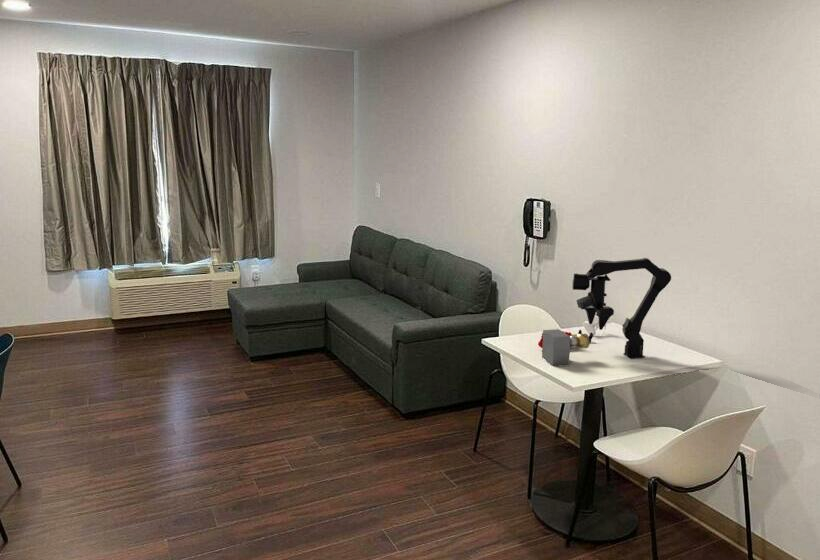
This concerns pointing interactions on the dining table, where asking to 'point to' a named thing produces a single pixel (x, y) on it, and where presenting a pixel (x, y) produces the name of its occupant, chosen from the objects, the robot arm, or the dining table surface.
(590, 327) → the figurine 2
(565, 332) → the figurine
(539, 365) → the dining table surface
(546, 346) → the housing
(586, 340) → the gold cylindrical piece
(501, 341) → the dining table surface
